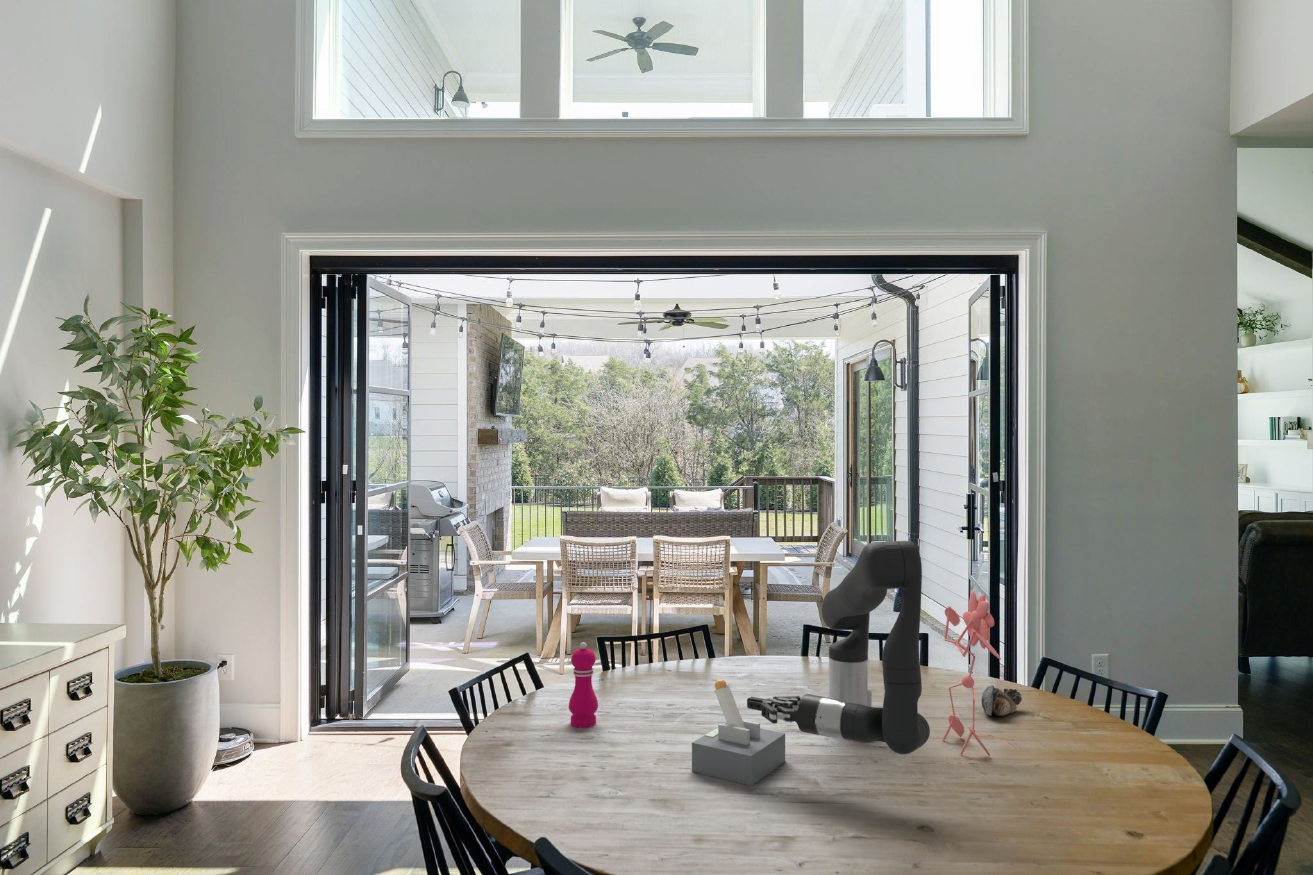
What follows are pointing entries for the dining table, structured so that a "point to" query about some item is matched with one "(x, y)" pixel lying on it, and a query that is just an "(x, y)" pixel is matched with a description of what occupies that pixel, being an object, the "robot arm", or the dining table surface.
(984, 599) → the pink flower figurine
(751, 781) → the box
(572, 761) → the dining table surface
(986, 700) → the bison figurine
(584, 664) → the pepper mill
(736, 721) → the lever
